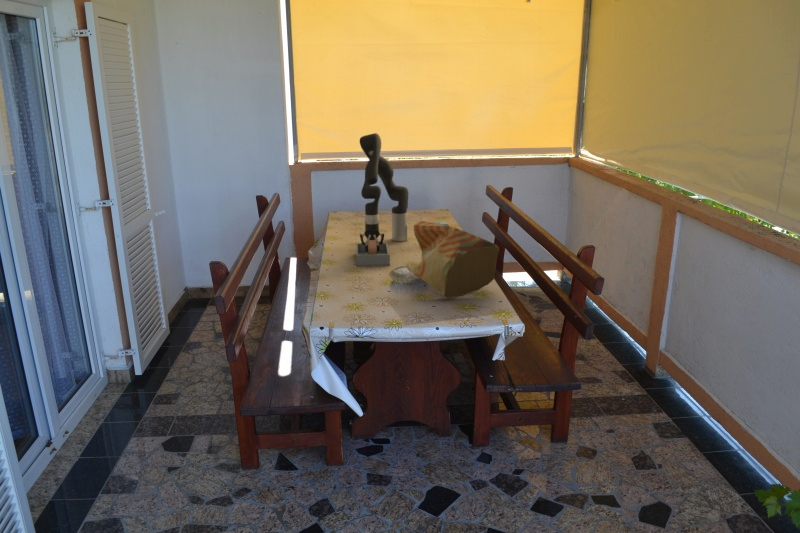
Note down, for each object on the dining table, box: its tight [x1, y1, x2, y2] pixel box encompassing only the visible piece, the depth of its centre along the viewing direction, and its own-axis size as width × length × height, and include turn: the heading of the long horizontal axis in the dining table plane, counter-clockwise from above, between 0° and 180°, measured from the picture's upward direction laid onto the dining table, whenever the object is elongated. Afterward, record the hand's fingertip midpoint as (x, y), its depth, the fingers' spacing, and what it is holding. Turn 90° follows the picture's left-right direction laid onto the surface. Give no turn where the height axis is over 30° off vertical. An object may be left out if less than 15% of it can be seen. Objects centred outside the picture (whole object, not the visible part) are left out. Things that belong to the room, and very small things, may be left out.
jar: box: [368, 240, 377, 255], centre depth 353 cm, size 5×5×9 cm
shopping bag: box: [405, 220, 500, 299], centre depth 305 cm, size 36×32×40 cm
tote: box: [355, 242, 391, 267], centre depth 354 cm, size 18×24×6 cm
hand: (372, 251), depth 354 cm, fingers closed on jar, 5 cm apart
